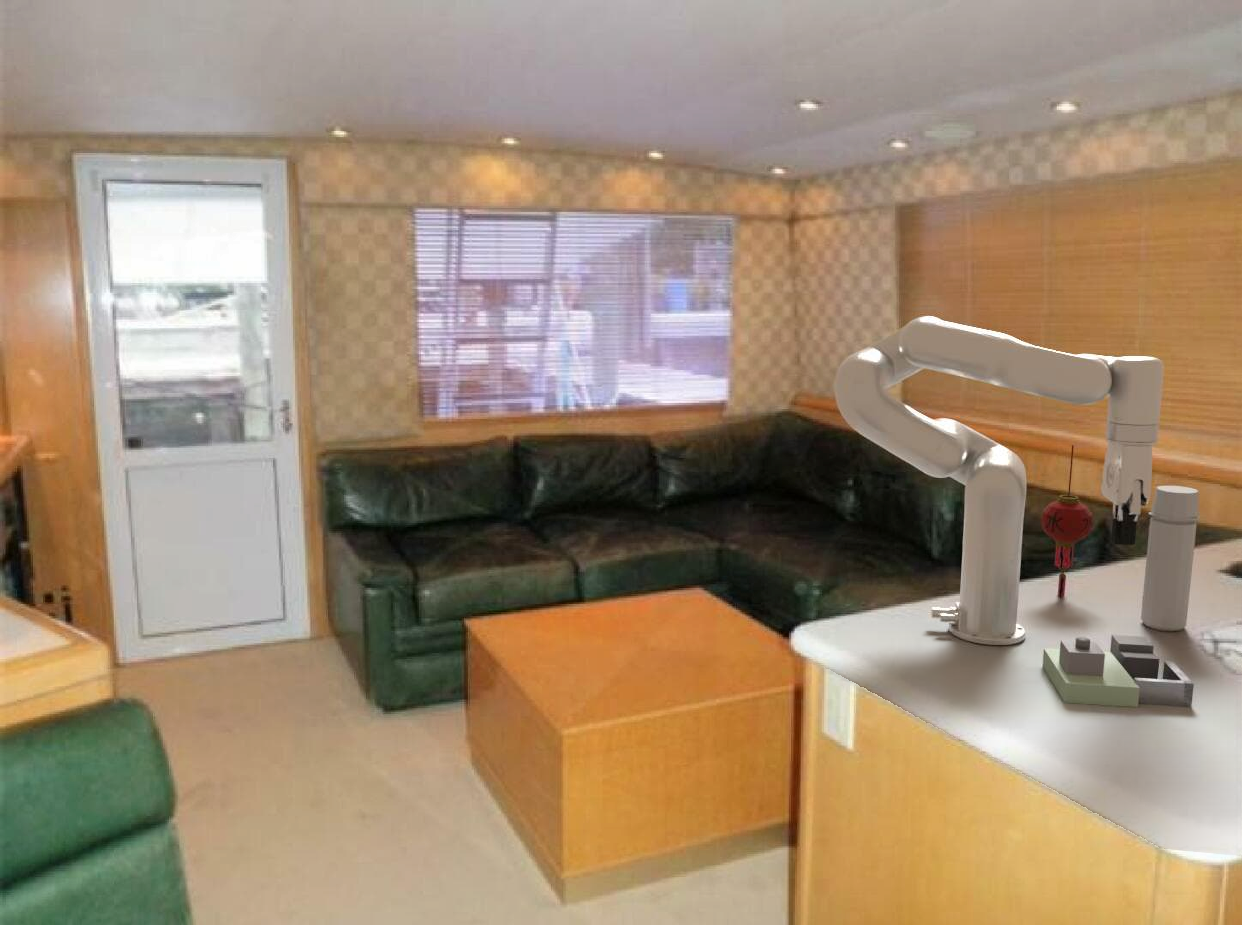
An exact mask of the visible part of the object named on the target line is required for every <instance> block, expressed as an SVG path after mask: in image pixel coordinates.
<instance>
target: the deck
mask: <svg viewBox="0 0 1242 925" xmlns="http://www.w3.org/2000/svg"><path fill="white" fill-rule="evenodd" d="M1042 657H1043V658H1042V668H1043V669H1044V671H1045V672H1046V674H1047V676H1048V678H1049V679H1050V680H1051V682H1052V684H1053V686H1054V687H1055V689H1056V690H1057V692H1058V694H1059V695H1060V696H1061V699H1062V701H1063V702H1064V703H1069V704H1071V703H1073V704H1087V705H1101V706H1102V705H1103V706H1114V707H1115V706H1116V707H1131V708H1138V706H1139V703H1138V700H1139V689H1140V687H1139V686H1138V685H1137V684H1136V683H1135V681H1134V680H1133V679H1132V678H1131V676H1130V675H1129V674H1128V673H1127V672H1126V670H1125V669H1124V668H1123V667H1122V665H1121V664H1120V663H1119V662H1118V660H1117V659H1116V658H1115V657H1114V656H1113V654H1112V653H1111V652H1110V651H1103V650H1102V648H1101V647H1100V646H1099V645H1098V643H1097V642H1095V641H1091V639H1090V638H1087V637H1085V636H1084V637H1082V636H1080V637H1079V636H1078V637H1075V640H1066V639H1065V640H1064V639H1063V640H1060V647H1059V648H1043V656H1042Z"/></svg>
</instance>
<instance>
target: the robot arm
mask: <svg viewBox="0 0 1242 925" xmlns="http://www.w3.org/2000/svg"><path fill="white" fill-rule="evenodd" d="M924 369H926V370H930V371H935V372H939V373H944V374H949V375H953V376H958V377H962V378H966V379H968V380H969V379H970V380H974V381H977V382H978V381H979V382H981V383H982V382H983V383H987V384H991V385H993V386H996V387H1001V388H1008V389H1012V390H1015V391H1019V392H1023V393H1027V394H1031V395H1034V396H1037V397H1043V398H1047V399H1052V400H1054V401H1059V402H1063V403H1069V404H1073V405H1079V406H1090V405H1093V404H1096V403H1099V402H1100V401H1102V400H1103V399H1104V398H1107V401H1108V402H1107V403H1108V405H1107V416H1106V418H1107V419H1106V428H1105V429H1106V430H1105V442H1106V443H1107V445H1106V446H1107V447H1106V450H1105V456H1104V463H1103V469H1102V470H1103V471H1102V478H1101V487H1100V490H1101V491H1100V492H1101V494H1102V496H1104V498H1106V499H1107V500H1109V501H1110V502H1111V503H1112V525H1111V526H1112V527H1111V536H1110V538H1111V539H1110V541H1111V542H1112V543H1113V544H1114V545H1119V546H1121V545H1122V546H1133V545H1135V543H1136V534H1137V522H1138V517H1139V516H1141V511H1142V510H1141V509H1142V508H1141V506H1142V507H1145V506H1147V505H1148V504H1149V502H1150V500H1151V499H1150V498H1151V493H1152V492H1151V490H1152V479H1153V478H1152V477H1153V476H1152V475H1153V473H1152V472H1153V446H1155V445H1158V442H1159V441H1158V440H1159V429H1160V417H1161V409H1162V408H1161V406H1162V396H1163V395H1162V393H1163V384H1164V373H1165V372H1164V370H1165V366H1164V363H1163V361H1162V360H1161V359H1160V358H1158V357H1153V356H1146V355H1145V356H1141V355H1139V356H1138V355H1129V356H1126V355H1125V356H1119V357H1115V356H1105V355H1097V354H1091V353H1078V354H1072V353H1066V352H1062V351H1056V350H1053V349H1048V348H1044V347H1040V346H1036V345H1033V344H1030V343H1027V342H1024V341H1022V340H1019V339H1017V338H1015V337H1013V336H1011V335H1009V334H1006V333H1004V332H1003V333H1002V332H999V331H998V332H997V331H993V330H987V329H984V328H983V329H982V328H978V327H973V326H968V325H964V324H959V323H955V322H950V321H945V320H942V319H940V318H938V317H936V316H931V315H925V316H920V317H916V318H915V319H912V320H910V321H909V322H907V323H906V324H905V325H904V326H903V327H900V328H899V329H897V330H896V331H895V332H893V333H891V334H889V335H887V336H886V337H884V338H882V339H880V340H878V341H876V342H874V343H872V344H871V345H869V346H866V347H865V348H863V349H861V350H859V351H857V352H854V353H852V354H851V355H849V356H847V357H846V358H845V359H844V360H843V361H842V362H841V363H840V365H839V366H838V370H837V371H836V374H835V379H834V397H835V402H836V405H837V408H838V410H839V413H840V415H841V417H843V419H844V420H845V422H846V423H847V424H848V426H850V427H851V428H852V430H854V431H855V432H857V433H858V434H859V435H861V436H862V437H864V438H866V439H867V440H869V441H871V442H873V443H874V444H876V445H878V446H879V447H881V448H882V449H884V450H886V451H887V452H889V453H891V454H892V455H894V456H896V457H898V458H899V459H901V460H902V461H904V462H906V463H908V464H910V465H911V466H913V467H915V469H918V470H919V471H921V472H923V473H924V474H926V475H928V476H930V477H932V478H939V479H941V478H942V479H943V478H948V477H950V478H952V479H953V480H954V481H957V482H958V483H960V484H962V485H964V486H965V488H964V513H963V514H964V516H963V517H964V518H963V532H962V533H963V534H962V535H963V536H962V556H961V558H962V559H961V573H960V574H961V576H960V589H959V590H960V591H959V601H955V606H949V608H945V607H935V606H932V607H931V609H930V617H931V618H932V619H939V621H940V622H943V623H948V630H949V633H951V634H952V635H953V636H955V637H956V638H959V639H962V640H963V641H967V642H971V643H975V644H981V645H987V646H988V645H989V646H1009V645H1016V644H1018V643H1021V642H1023V641H1024V639H1025V638H1026V630H1025V628H1024V627H1023V626H1022V625H1021V624H1019V623H1017V620H1018V619H1017V618H1018V604H1019V591H1020V590H1019V589H1020V578H1021V577H1020V576H1021V566H1022V565H1021V563H1022V562H1021V561H1022V544H1023V532H1024V531H1023V530H1024V518H1025V509H1026V508H1025V507H1026V500H1027V499H1026V498H1027V471H1026V467H1025V464H1024V463H1023V461H1022V459H1021V458H1020V457H1019V456H1018V454H1016V453H1015V452H1013V451H1012V450H1010V449H1009V448H1008V447H1005V446H1004V445H1002V444H1000V443H998V442H996V441H995V440H992V439H991V438H989V437H987V436H985V435H984V434H982V433H980V432H978V431H976V430H974V429H973V428H971V427H969V426H967V425H965V424H963V423H961V422H959V421H957V420H954V419H951V418H945V417H939V418H935V419H934V418H930V416H929V417H928V416H926V415H924V414H922V413H921V412H918V411H917V410H916V409H914V408H912V407H911V406H909V405H907V404H905V403H903V402H901V401H899V400H896V399H895V398H893V397H892V396H890V395H889V393H888V392H887V391H886V390H887V389H889V388H890V387H892V386H895V385H896V384H898V383H900V382H902V381H903V380H906V379H907V378H909V377H911V376H913V375H915V374H917V373H919V372H920V371H922V370H924Z"/></svg>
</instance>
